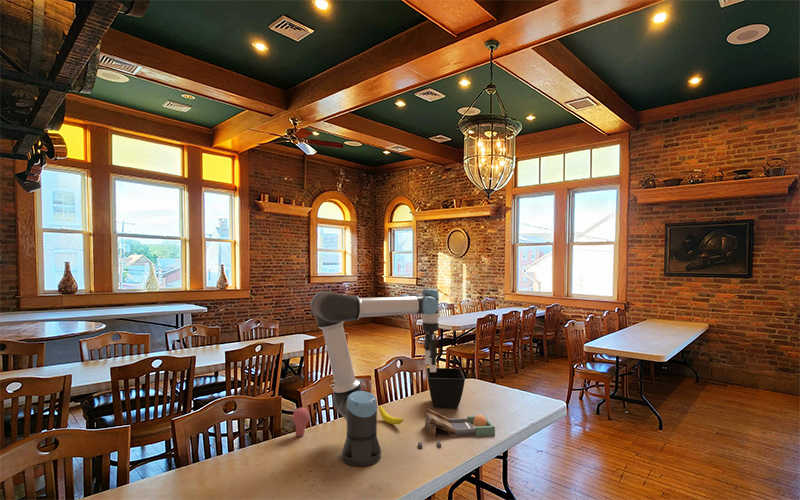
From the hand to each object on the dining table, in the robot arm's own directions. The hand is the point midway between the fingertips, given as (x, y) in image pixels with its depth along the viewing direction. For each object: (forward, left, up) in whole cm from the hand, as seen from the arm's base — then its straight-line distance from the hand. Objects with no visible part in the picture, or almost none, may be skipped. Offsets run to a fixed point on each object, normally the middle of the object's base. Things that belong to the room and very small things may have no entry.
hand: (430, 367), depth 180 cm
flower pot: (+13, +26, -27) cm, 40 cm away
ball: (+22, -6, -23) cm, 33 cm away
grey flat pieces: (-4, -20, -27) cm, 33 cm away
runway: (+14, -6, -27) cm, 30 cm away
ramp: (+4, -6, -27) cm, 27 cm away
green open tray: (+23, -6, -27) cm, 35 cm away
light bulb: (-58, -5, -27) cm, 64 cm away
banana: (-18, +4, -27) cm, 33 cm away
